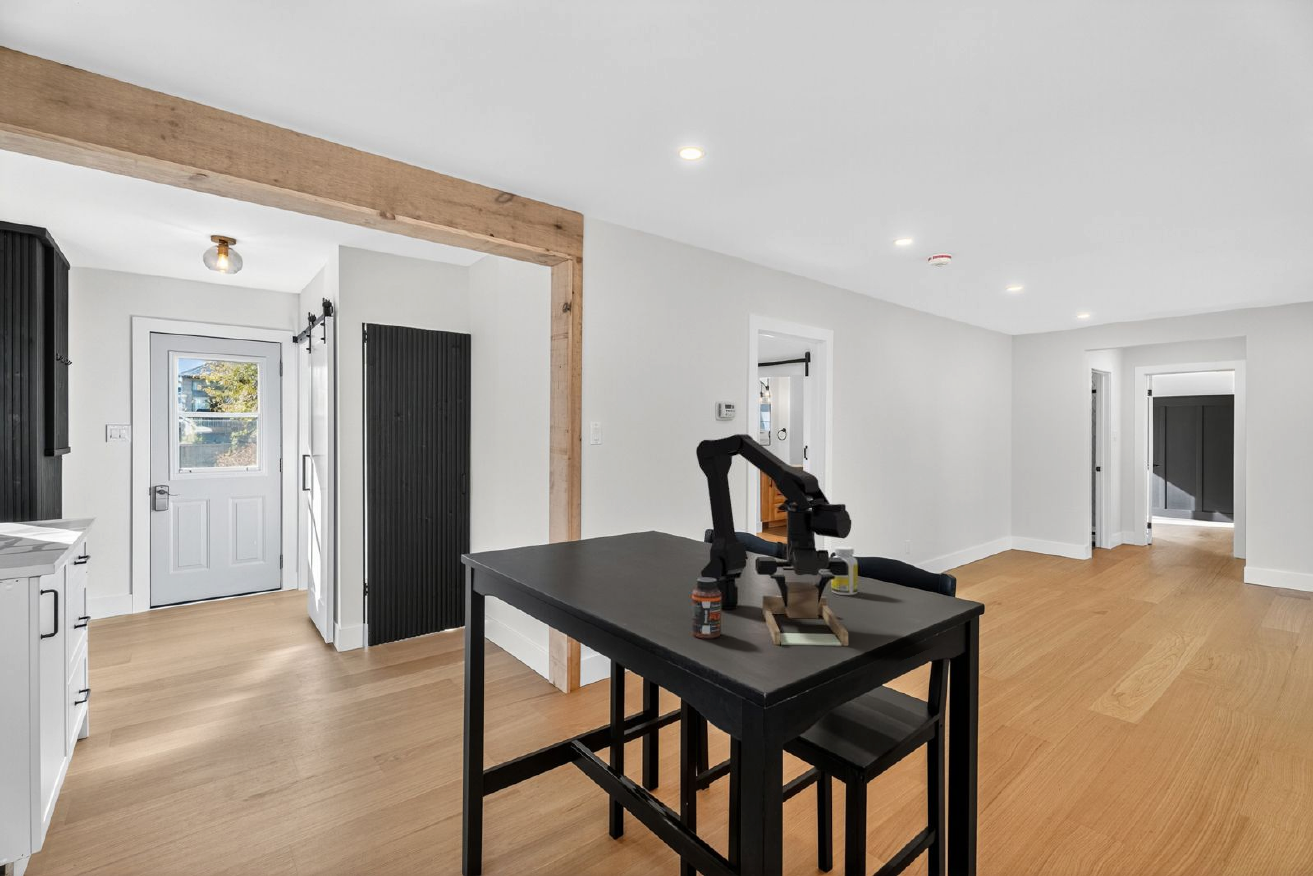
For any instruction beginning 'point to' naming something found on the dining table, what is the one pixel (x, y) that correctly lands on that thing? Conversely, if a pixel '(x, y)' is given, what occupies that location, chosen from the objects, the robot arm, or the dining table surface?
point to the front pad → (808, 639)
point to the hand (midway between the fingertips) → (800, 606)
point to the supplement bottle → (706, 609)
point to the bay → (777, 607)
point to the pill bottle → (849, 582)
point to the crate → (801, 600)
